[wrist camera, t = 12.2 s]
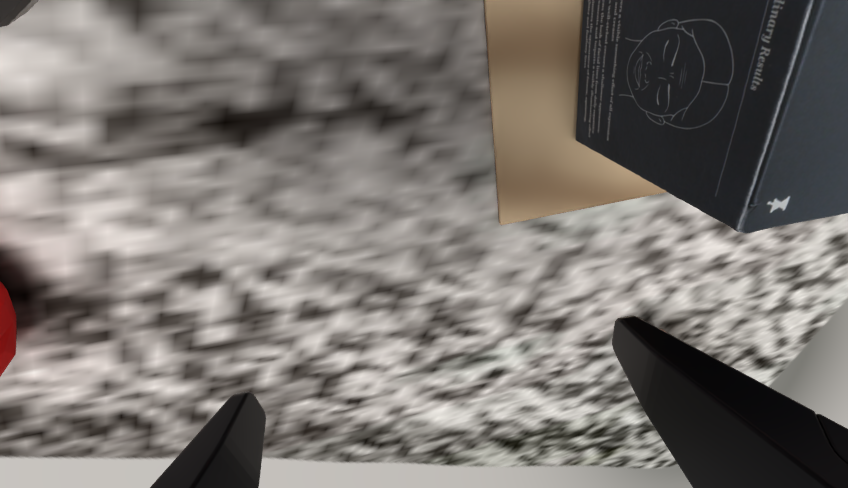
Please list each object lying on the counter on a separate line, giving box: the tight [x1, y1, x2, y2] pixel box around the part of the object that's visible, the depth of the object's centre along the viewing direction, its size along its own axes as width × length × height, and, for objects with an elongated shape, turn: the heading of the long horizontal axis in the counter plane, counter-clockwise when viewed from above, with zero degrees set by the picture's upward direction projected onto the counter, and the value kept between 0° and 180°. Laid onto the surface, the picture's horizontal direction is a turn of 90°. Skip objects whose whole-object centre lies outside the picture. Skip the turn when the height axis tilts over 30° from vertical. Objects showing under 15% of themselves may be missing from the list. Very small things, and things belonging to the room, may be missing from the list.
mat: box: [484, 0, 667, 225], centre depth 18 cm, size 16×12×1 cm
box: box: [576, 0, 848, 233], centre depth 13 cm, size 8×6×11 cm
